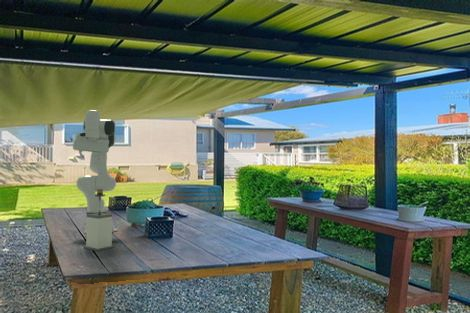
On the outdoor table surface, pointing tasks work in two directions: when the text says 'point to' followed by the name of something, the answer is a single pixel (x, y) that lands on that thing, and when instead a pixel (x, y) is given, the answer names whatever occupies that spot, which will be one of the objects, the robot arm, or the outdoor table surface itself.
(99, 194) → the plunger
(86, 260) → the outdoor table surface
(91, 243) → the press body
